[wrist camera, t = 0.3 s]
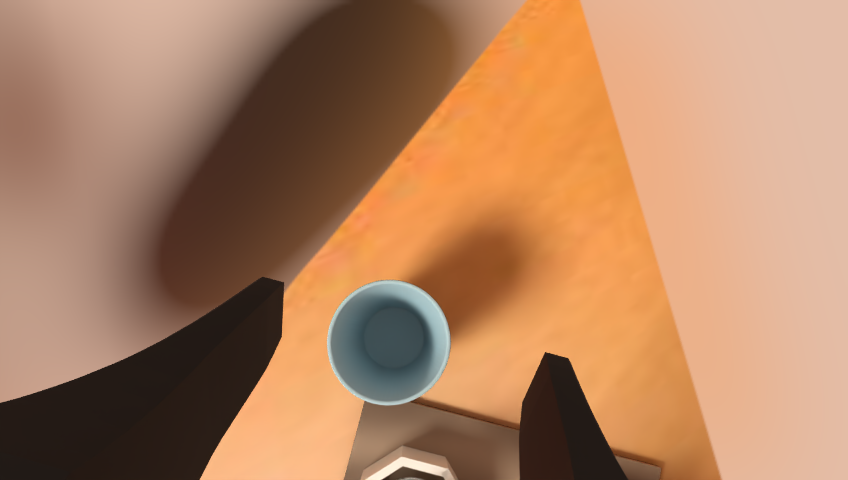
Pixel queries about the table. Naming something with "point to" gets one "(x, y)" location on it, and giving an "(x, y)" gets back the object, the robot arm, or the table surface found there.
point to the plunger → (410, 478)
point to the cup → (388, 342)
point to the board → (449, 444)
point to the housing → (409, 464)
